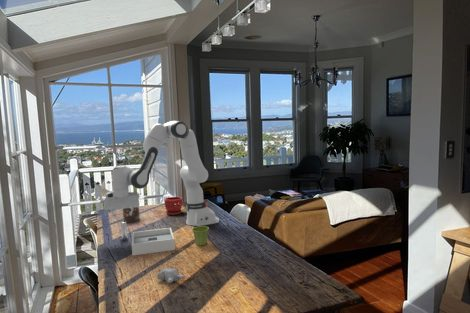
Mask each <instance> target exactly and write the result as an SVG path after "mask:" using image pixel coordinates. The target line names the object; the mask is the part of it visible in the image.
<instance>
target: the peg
mask: <svg viewBox="0 0 470 313" xmlns="http://www.w3.org/2000/svg"><path fill="white" fill-rule="evenodd" d="M127 223H128V222H124V221H122V222H120V231H121V240H127V238H128V226H127Z"/></svg>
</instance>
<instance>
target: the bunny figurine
mask: <svg viewBox="0 0 470 313" xmlns="http://www.w3.org/2000/svg"><path fill="white" fill-rule="evenodd" d="M156 276H157V280H163V281H165V282H166V284H171V283H173V282H177V281H179V279H182V280H184V279H186V276H185V275H184V274H179V268H171V266H169V267H165V268H162V269H159V273H157V274H156Z"/></svg>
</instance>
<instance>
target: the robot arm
mask: <svg viewBox="0 0 470 313" xmlns="http://www.w3.org/2000/svg"><path fill="white" fill-rule="evenodd" d="M167 138H169V139H170V138H171V139H176V138H177V139H178V141H179V145H180V152H181V156H182V157H181V158H182V160H183V161H184V162H185V165H184V166H182V167H181V168H180V170H179V176H180V178H181V179H182V182H183V185H184V188H185V192H186V206H185V207H186V211H187V212H186V214H187V215H186V222H185V224H186V225H187V226H188V225H189V226H195V227H198V226H207V225H213V224H218V223H219V222H220V218H218V217H217V216H216V212H215V211H214V210H212V209H211V208H209V207H208V206H209V203H208V202H206V201H204V191H203V188H202V187H201V185H200V184H202V183H205V182H206V181H207V180H208V179H209V172H208V169H206V168H205V166H204V163H203V161H202V160H201V157H200V153H199V147H198V142H197V137H196V134H195V132H194V130H193V129H190V128H188V126H187V124H186V123H185V122H184V121H181V120H170V121H166V122H164V123H155V124H154V125H153V126H152V127H151V129H150V130H149V132H148V133H147V134H146V137H145V138H144V140H143V143H142V148H143V151H144V158H143V160H142V162H141V164H140V167H139V169H134V168H130V167H128V166H127V165H118V166H115V167H114V168H112V175H111V176H112V184H113V186H112V190H111V191H107V192H106V193H105V198H104V201H103V209H104V210H105V211H110V213H111V214H112V217H113V218H115V217H116V215H117V214H116V212H114V210H120V209H121V210H122V209H124V208H131V212H129V215H132V211H133V209H134V208H135V207H139V208H140V193H139V192H137V191H130V188H129V186H132V187H134V188H135V189H139V190H141V189H144V188H145V187H147V185H148V184H149V181H150V174H151V171H152V170H153V167H154V164H155V162H156V159H157V157H158V155H159V153H160V150H161V149H162V147H163V145H164V143H165V140H166V139H167Z"/></svg>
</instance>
